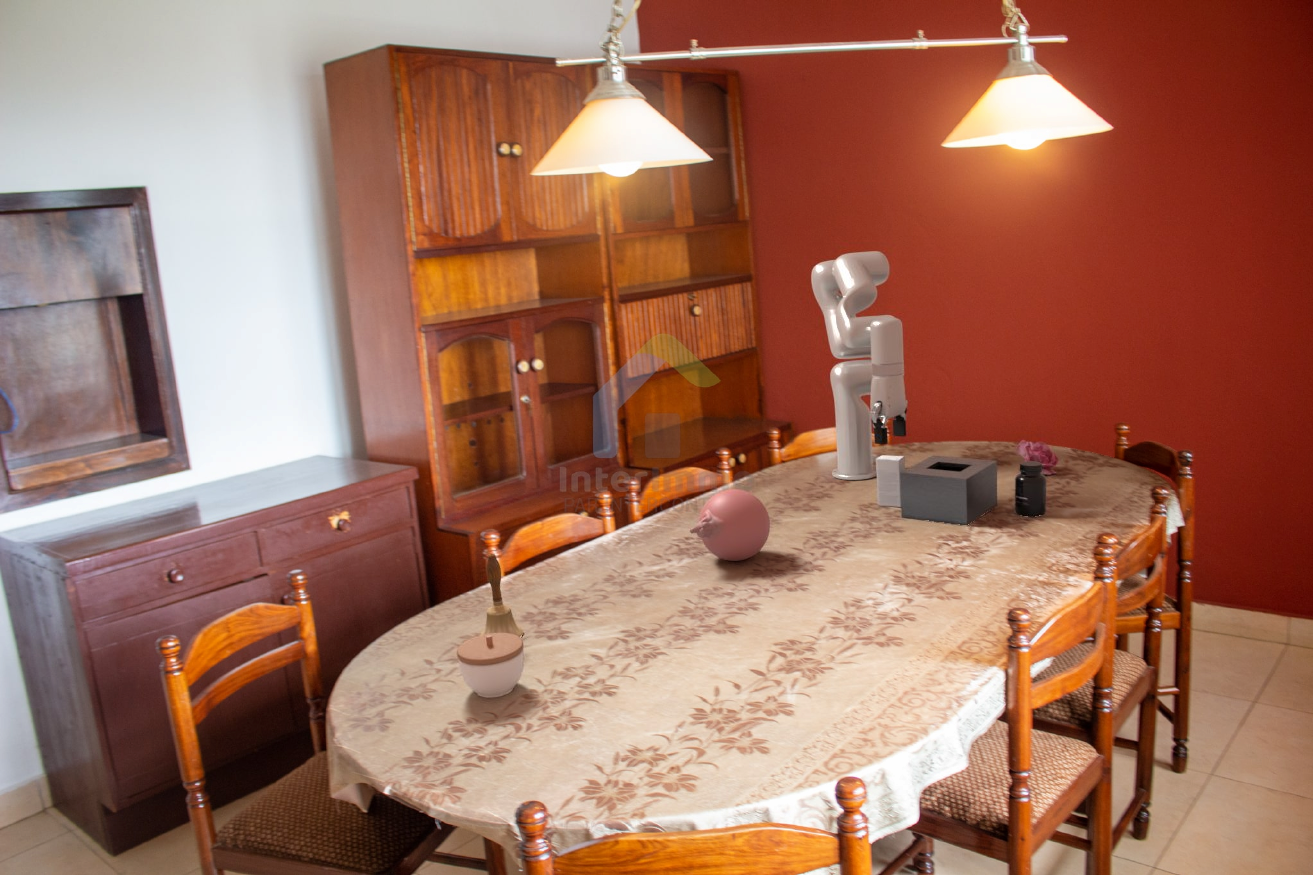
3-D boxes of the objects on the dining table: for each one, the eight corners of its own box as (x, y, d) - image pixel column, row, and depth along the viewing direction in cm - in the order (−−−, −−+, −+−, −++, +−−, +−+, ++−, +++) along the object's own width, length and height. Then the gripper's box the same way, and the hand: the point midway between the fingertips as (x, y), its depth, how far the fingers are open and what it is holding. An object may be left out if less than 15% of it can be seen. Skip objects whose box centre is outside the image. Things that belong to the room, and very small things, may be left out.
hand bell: (527, 640, 188) (518, 557, 185) (482, 648, 186) (472, 564, 182) (520, 624, 196) (511, 544, 192) (476, 632, 194) (466, 551, 190)
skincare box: (906, 503, 254) (905, 456, 251) (900, 507, 250) (899, 460, 248) (883, 501, 257) (881, 454, 254) (877, 505, 254) (875, 458, 251)
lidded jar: (490, 710, 161) (484, 655, 159) (448, 694, 168) (442, 640, 166) (541, 684, 169) (535, 631, 167) (499, 669, 176) (493, 618, 174)
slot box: (934, 498, 256) (933, 455, 254) (997, 505, 246) (996, 460, 244) (901, 517, 242) (900, 472, 240) (966, 526, 232) (966, 479, 230)
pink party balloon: (669, 565, 222) (664, 496, 219) (740, 543, 233) (735, 477, 230) (714, 582, 210) (709, 509, 207) (786, 557, 221) (782, 488, 218)
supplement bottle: (1013, 517, 236) (1013, 466, 234) (1015, 508, 242) (1015, 459, 240) (1045, 518, 234) (1045, 467, 231) (1046, 509, 240) (1046, 459, 237)
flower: (1062, 484, 271) (1068, 459, 264) (1024, 489, 271) (1029, 465, 264) (1047, 452, 279) (1052, 427, 272) (1010, 457, 279) (1015, 433, 272)
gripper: (890, 364, 255) (892, 432, 259) (856, 375, 242) (859, 446, 246) (918, 365, 251) (920, 434, 254) (885, 375, 238) (888, 448, 241)
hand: (890, 439), depth 250 cm, fingers open, 9 cm apart
